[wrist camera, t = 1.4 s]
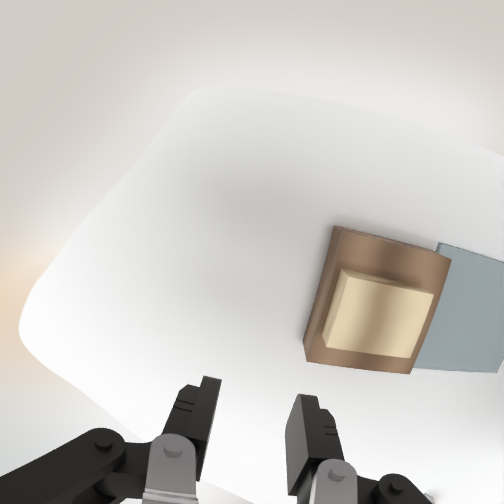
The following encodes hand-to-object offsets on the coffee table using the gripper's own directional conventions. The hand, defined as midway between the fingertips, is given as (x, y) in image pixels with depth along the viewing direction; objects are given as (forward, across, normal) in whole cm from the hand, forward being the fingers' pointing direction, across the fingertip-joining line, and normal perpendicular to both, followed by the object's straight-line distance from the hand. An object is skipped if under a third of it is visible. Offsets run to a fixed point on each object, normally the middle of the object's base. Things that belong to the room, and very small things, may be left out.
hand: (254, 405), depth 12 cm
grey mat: (+19, -26, 0) cm, 32 cm away
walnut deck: (+19, -11, 0) cm, 22 cm away
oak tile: (+15, -10, 0) cm, 18 cm away
